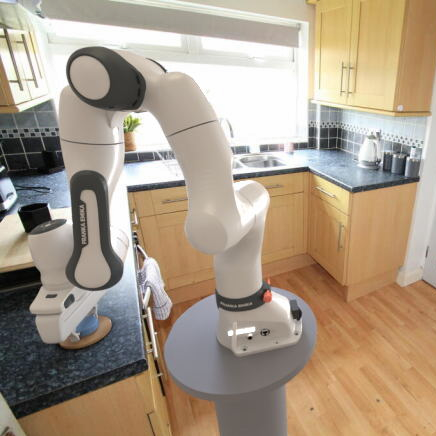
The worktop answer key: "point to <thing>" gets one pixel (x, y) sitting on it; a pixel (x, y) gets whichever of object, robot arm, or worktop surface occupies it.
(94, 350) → the worktop surface
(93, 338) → the trivet
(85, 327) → the jar lid
